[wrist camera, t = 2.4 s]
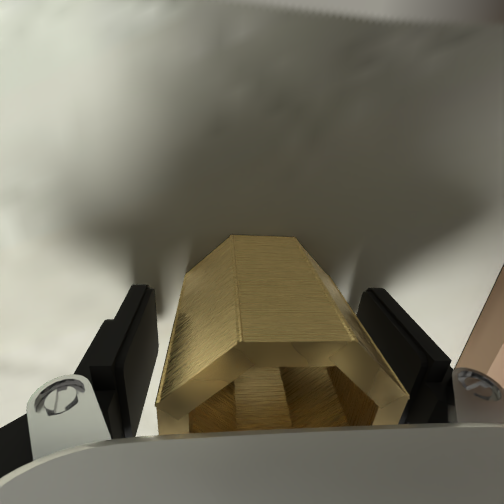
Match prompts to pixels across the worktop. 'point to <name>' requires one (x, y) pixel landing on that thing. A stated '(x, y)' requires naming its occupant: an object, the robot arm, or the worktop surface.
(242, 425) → the brass coupling
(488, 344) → the pipe board
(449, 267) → the worktop surface
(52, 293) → the worktop surface
